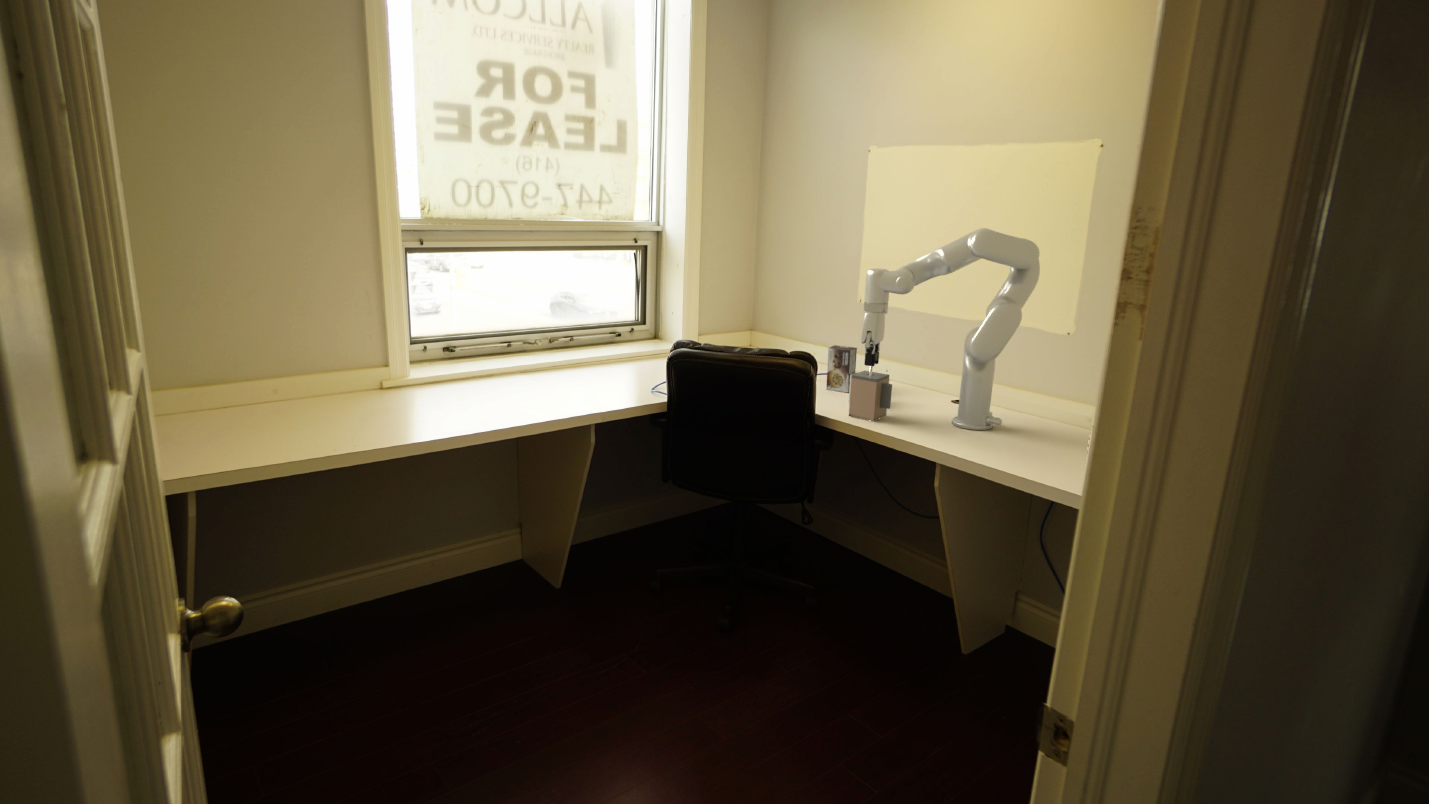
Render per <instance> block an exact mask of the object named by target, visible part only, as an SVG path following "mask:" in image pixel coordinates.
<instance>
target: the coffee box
mask: <svg viewBox="0 0 1429 804" xmlns="http://www.w3.org/2000/svg"><path fill="white" fill-rule="evenodd" d="M857 351H858V348H857V347H853V346H845V345H836V344H835V345H832V346H830V347H828V348H827V370H826V371H827V373H826V388H825V389H826V390H828V391H835V392H841V393H848V394H849V388H850V375H851V374H852V373H856V367H857V364H856V363H857V353H858V352H857Z"/></svg>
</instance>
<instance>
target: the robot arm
mask: <svg viewBox="0 0 1429 804" xmlns="http://www.w3.org/2000/svg"><path fill="white" fill-rule="evenodd" d="M1039 258H1040V249H1039V246H1038V245H1037V243H1035V242H1034V241H1032V240H1029V239H1027V238H1022V237H1018V236H1014V235H1009V234H1005V233H1001V232H999V231H995V230H993V229H990V228H987V227H983V228H982V227H981V228H978V229H976V230H973V231H972V232H969V233H968V234H965V235H963V236H961V237H960V238H958V239H955V240H953V241H952V242H949V243H948V244H946V245H943V246H941V247H939V248H937V249H935V250H933V251H932V252H930V253H928V254H926V255H923V256H921V257H919V258H917V259H915V260H913V261H912V262H911V261H910V262H909V263H907V264H905V265H903V266H901V267H899V268H897V269H896V270H889V269H887V268H886V269H885V268H869V269H868V270H867V271H866V274H865V275H866V276H865V286H864V300H863V301H864V302H863V313H864V315H863V321H862V329H861V334H860V343H861V344H864V348H865V351H864V353H865V354H864V365H865V366H869V367H870V366H873V367H875V365H878V364H879V359H880V350H881V349H880V348H881V342H882V341H883V340H884V337H885V325H886V324H885V322H886V320H885V319H886V318H885V317H886V315H887V314H888V311H889V300H890V298H889V297H890V293H891V294H897V295H907V294H909V293H910V292H912V291H913V289H914V288H915V287H916V286H918V285H920V284H922V283H925V282H926V281H929V280H931V279H935V278H937V277H940V276H947V275H950V274H953V273H955V272H957V271H959V270H960V269H963V268H965V267H967V266H968V265H971V264H973V263H975V262H977V261H979V260H986V261H989V262H993V263H996V264H998V265H999V264H1000V265H1003V266H1007V267H1009V268H1010V269H1009V273H1008V276H1007V278H1006V279H1005V281H1004V282H1003V284H1002V286H1001V288H1000V289H999V291H997V293H996V295H995V296H994V297H993V299H992V300H991V302H990V303H989V304H988V306H987V307H986V310H985V315H986V316H985V318H984V319H983V321H982V323H981V324H980V325H979V326H976V327H974V328H972V329H971V330H969V332H968V333H967V334H966V336H965V339H964V344H963V345H964V348H963V362H962V363H963V364H962V373H961V382H960V392H959V401H958V409H957V416H955V417H953V418H952V419H951V423H952V424H953V426H956V427H958V428H961V429H967V430H974V431H983V430H984V431H985V430H990V429H992V428H993V427H994V425H995V426H1002V423H1003V419H1001V417H995V416H993V411H991V401H992V394H993V385H994V379H995V370H996V369H995V368H996V359H997V358H998V357H999V356H1000V354H1001V353H1002V351H1003V350H1004V349H1005V347H1006V346H1007V345H1008V343H1009V342H1010V340H1011V338H1012V337H1013V336H1014V334H1016V332H1017V330H1018V329H1019V326H1020V325H1021V322H1022V320H1023V312H1022V310H1023V308H1024V306H1025V304H1026V303H1027V301H1028V300H1029V299H1030V297H1031V294H1032V293H1033V291H1034V290H1035V289H1036V286H1037V285H1038V282H1039V279H1040V273H1041V266H1040V264H1041V263H1040V259H1039ZM875 352H877V353H878V355H877V361H875V354H874V353H875Z"/></svg>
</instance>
